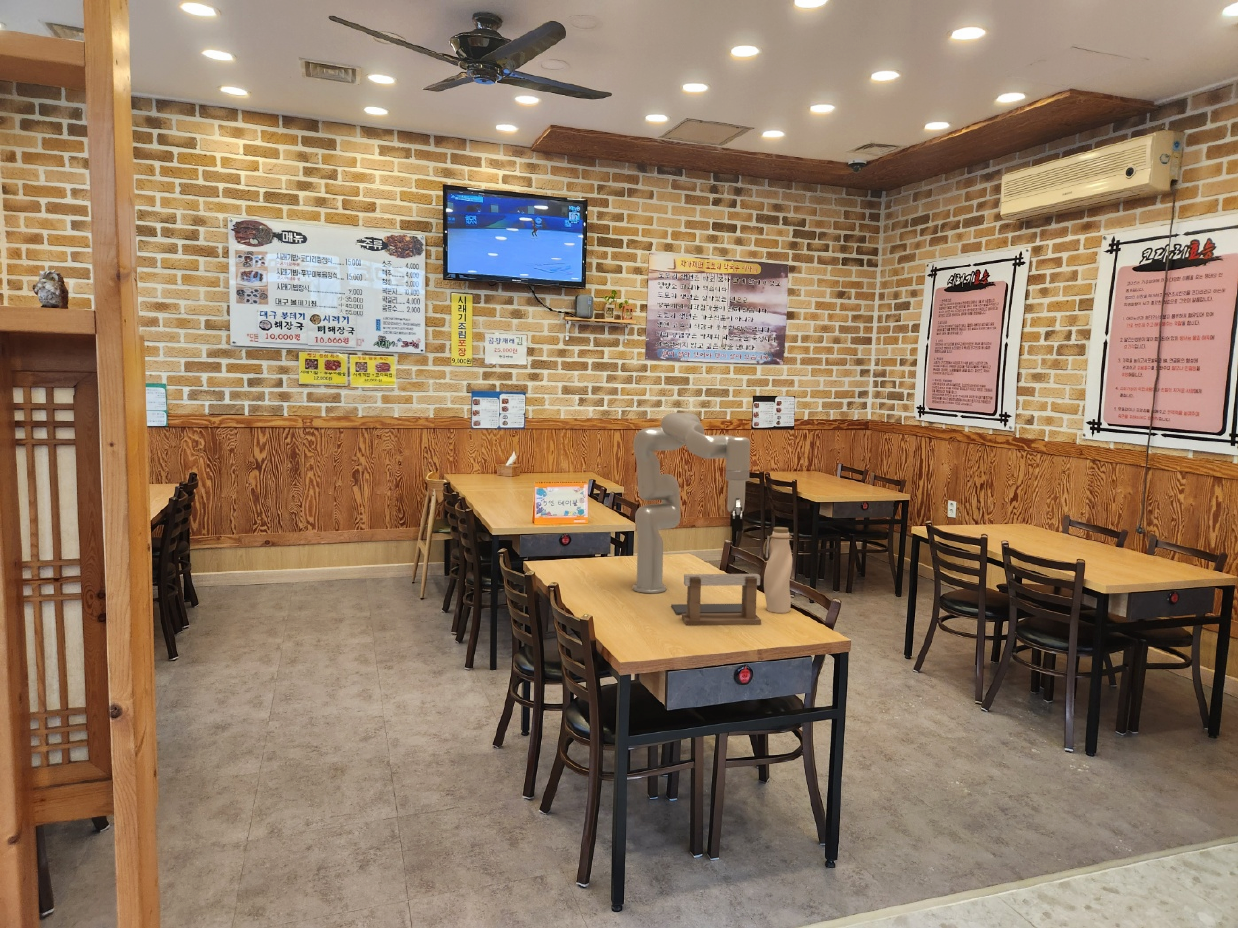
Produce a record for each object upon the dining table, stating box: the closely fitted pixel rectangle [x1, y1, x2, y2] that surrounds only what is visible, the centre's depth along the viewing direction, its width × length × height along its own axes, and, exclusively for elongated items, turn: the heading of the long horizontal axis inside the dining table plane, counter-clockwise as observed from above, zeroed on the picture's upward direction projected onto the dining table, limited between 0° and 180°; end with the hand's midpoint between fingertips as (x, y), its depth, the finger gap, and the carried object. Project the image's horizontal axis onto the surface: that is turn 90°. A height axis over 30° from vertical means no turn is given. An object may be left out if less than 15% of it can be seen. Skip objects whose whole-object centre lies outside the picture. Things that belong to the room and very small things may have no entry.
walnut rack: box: [681, 578, 762, 626], centre depth 252 cm, size 8×24×14 cm, turn 96°
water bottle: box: [762, 526, 793, 614], centre depth 266 cm, size 10×9×28 cm
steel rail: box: [683, 573, 761, 587], centre depth 252 cm, size 3×24×3 cm, turn 96°
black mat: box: [670, 603, 742, 616], centre depth 266 cm, size 10×26×1 cm, turn 96°
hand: (736, 528), depth 254 cm, fingers open, 9 cm apart
